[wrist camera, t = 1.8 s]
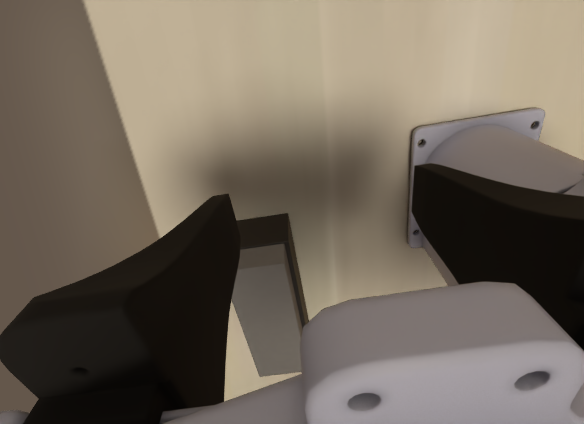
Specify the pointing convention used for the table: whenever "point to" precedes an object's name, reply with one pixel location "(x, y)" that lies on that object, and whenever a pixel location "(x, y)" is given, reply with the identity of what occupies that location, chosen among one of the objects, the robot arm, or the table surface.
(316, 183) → the table surface
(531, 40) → the table surface
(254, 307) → the grey rectangular block
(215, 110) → the table surface
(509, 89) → the table surface
